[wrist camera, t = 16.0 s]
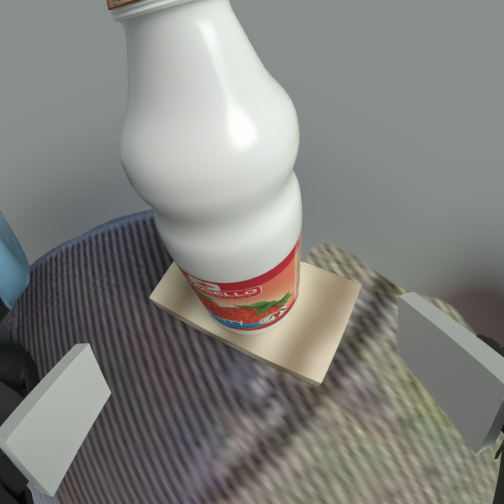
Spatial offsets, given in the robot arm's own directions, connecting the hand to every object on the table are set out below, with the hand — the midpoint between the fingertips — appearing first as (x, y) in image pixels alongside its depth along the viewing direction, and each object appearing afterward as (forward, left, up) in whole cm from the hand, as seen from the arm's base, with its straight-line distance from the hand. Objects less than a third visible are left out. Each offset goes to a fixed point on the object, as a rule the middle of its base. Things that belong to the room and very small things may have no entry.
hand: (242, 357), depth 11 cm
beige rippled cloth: (-6, +8, -19) cm, 22 cm away
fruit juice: (-6, +8, -16) cm, 19 cm away
